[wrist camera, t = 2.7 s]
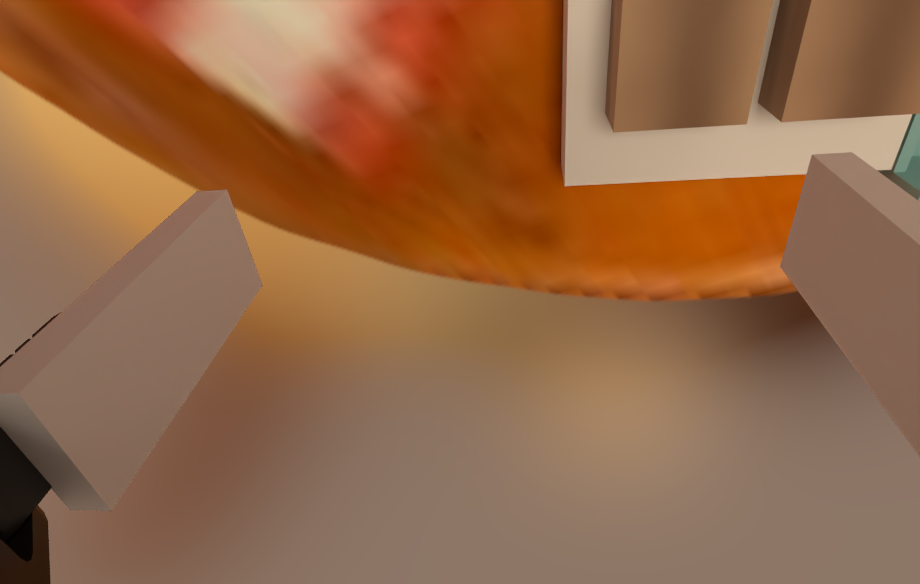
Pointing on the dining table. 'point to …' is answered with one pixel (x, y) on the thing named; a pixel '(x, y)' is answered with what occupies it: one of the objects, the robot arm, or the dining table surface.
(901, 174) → the tray
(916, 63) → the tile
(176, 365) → the robot arm
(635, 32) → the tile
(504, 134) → the dining table surface
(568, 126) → the board
